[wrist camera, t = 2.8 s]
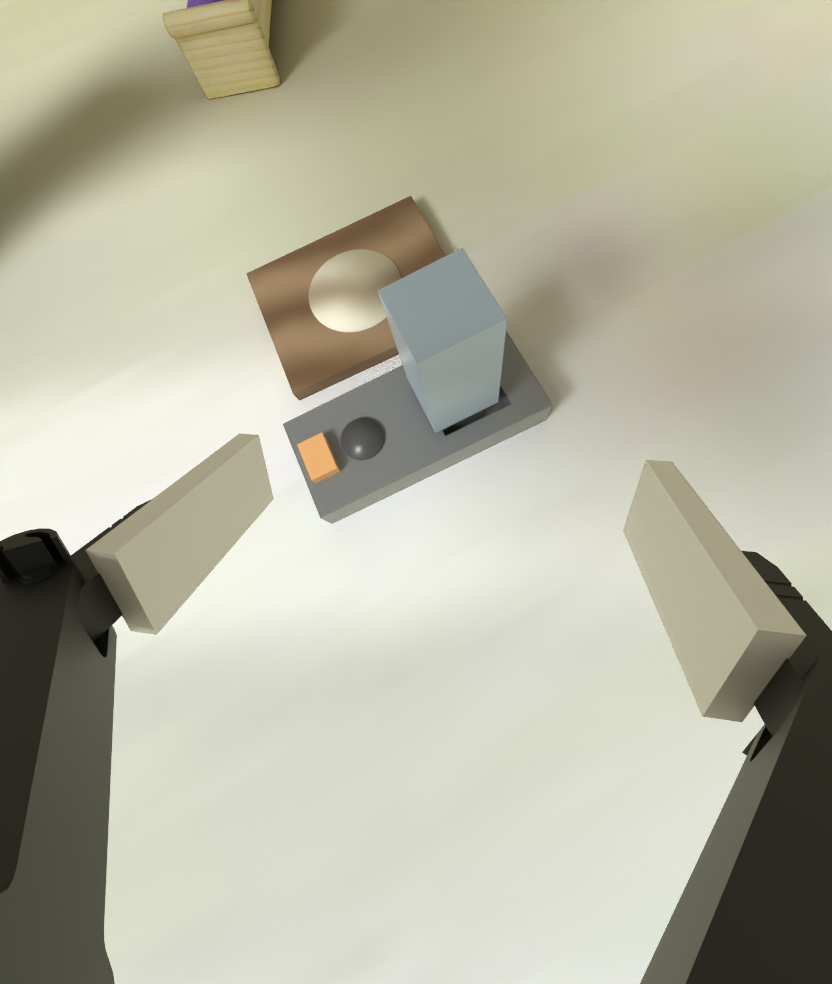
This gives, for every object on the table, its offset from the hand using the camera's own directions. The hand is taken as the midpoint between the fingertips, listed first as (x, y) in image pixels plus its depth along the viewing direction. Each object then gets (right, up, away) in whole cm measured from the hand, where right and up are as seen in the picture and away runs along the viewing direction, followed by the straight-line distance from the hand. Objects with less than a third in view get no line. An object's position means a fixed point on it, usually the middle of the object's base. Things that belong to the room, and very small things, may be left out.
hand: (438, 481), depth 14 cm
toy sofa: (-19, +51, +32) cm, 63 cm away
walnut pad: (-6, +16, +21) cm, 27 cm away
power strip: (-1, +4, +18) cm, 19 cm away
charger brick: (+2, +6, +17) cm, 18 cm away
